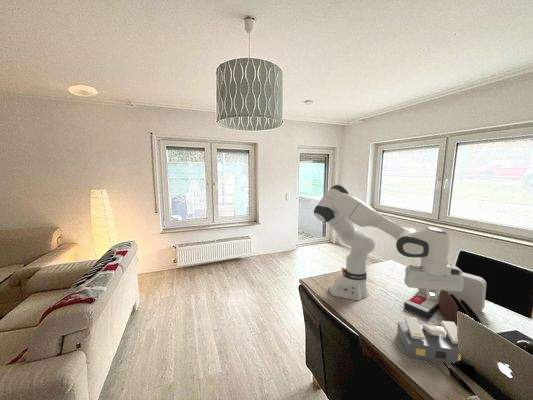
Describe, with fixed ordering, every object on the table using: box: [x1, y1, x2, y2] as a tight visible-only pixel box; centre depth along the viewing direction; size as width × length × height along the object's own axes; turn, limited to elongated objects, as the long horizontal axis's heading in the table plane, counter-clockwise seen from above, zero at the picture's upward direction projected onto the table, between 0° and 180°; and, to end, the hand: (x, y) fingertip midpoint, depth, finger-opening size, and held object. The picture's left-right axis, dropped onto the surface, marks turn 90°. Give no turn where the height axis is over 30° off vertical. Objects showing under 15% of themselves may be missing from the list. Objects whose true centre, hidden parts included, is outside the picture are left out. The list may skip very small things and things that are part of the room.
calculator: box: [403, 294, 439, 320], centre depth 117 cm, size 11×4×15 cm
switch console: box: [396, 321, 461, 364], centre depth 90 cm, size 22×13×7 cm, turn 76°
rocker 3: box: [440, 320, 458, 344], centre depth 88 cm, size 4×9×2 cm, turn 166°
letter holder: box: [437, 290, 483, 326], centre depth 104 cm, size 10×20×14 cm, turn 159°
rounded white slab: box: [417, 264, 487, 315], centre depth 123 cm, size 29×8×18 cm, turn 33°
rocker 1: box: [403, 315, 425, 340], centre depth 91 cm, size 4×9×2 cm, turn 166°
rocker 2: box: [422, 323, 446, 336], centre depth 90 cm, size 4×9×2 cm, turn 166°
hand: (431, 298), depth 92 cm, fingers closed
